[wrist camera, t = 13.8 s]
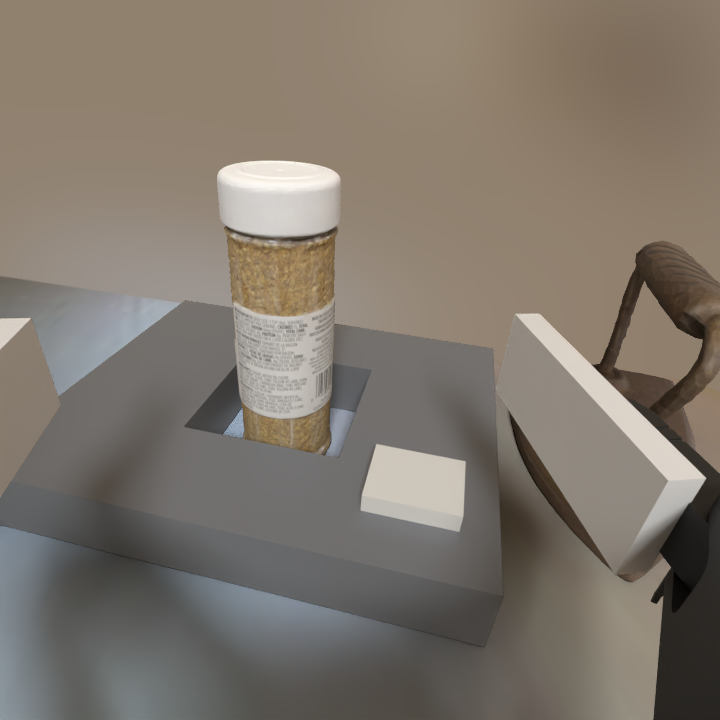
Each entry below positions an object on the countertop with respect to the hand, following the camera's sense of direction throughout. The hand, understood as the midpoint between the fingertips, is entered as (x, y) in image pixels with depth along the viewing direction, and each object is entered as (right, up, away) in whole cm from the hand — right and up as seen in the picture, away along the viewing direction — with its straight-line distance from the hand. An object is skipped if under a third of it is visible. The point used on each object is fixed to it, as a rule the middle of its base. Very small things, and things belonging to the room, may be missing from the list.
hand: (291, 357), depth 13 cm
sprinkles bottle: (-2, -5, +11) cm, 12 cm away
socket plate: (-2, -4, +11) cm, 12 cm away
